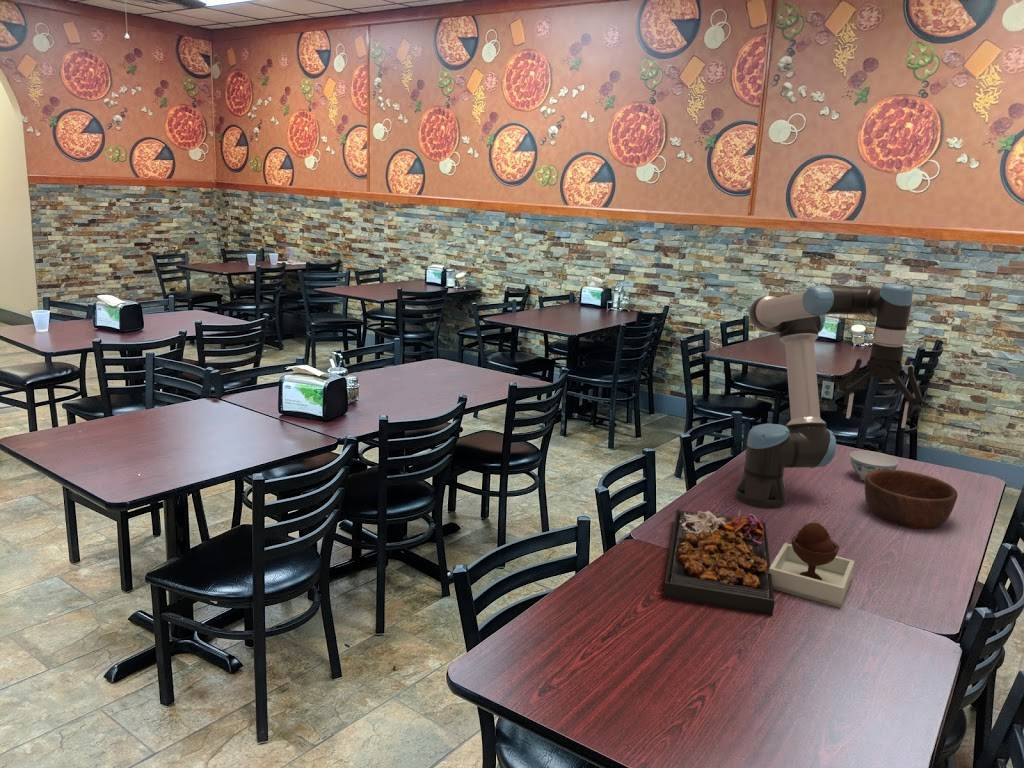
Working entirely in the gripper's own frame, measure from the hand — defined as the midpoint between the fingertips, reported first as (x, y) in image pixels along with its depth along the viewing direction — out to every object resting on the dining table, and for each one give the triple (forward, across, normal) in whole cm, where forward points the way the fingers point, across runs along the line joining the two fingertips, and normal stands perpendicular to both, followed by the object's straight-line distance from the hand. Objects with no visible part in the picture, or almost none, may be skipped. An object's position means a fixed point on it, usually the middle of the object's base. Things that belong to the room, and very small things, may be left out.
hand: (875, 421), depth 213 cm
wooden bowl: (+35, -10, -29) cm, 47 cm away
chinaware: (+35, +3, -56) cm, 66 cm away
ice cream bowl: (+34, +6, +33) cm, 47 cm away
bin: (+35, +6, +33) cm, 48 cm away
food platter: (+36, +28, +36) cm, 58 cm away
